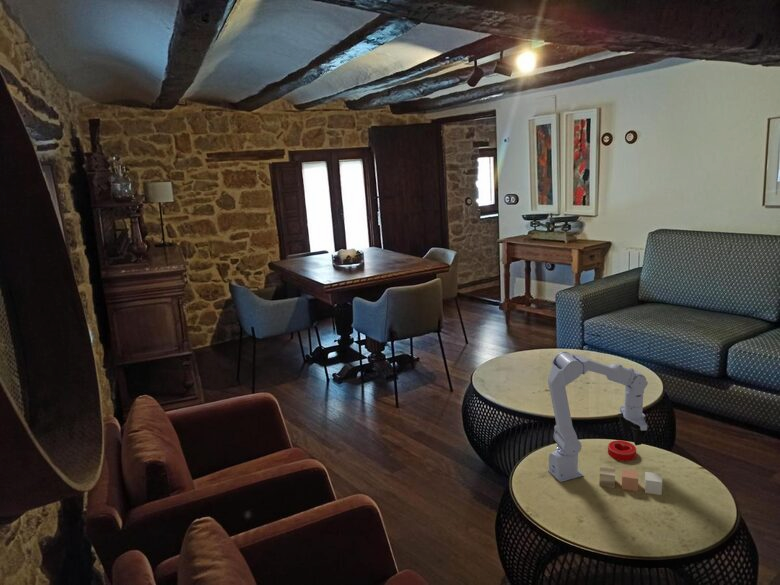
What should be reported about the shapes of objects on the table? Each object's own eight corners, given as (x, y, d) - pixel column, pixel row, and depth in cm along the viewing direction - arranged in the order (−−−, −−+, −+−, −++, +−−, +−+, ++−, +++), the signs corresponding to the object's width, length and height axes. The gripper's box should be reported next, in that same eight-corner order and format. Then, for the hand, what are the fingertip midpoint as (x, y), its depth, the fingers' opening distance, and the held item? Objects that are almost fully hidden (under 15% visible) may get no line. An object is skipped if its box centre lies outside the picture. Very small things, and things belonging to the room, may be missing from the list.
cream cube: (661, 495, 175) (662, 482, 174) (645, 492, 177) (645, 480, 176) (660, 486, 179) (661, 474, 178) (644, 484, 181) (645, 471, 180)
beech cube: (614, 488, 180) (615, 475, 179) (599, 485, 182) (599, 473, 181) (614, 480, 185) (615, 467, 183) (599, 477, 186) (600, 465, 185)
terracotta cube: (637, 491, 178) (638, 478, 176) (621, 489, 179) (622, 476, 178) (637, 483, 182) (637, 470, 181) (621, 481, 184) (622, 468, 182)
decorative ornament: (608, 460, 197) (608, 452, 196) (607, 446, 205) (607, 438, 204) (637, 463, 193) (637, 455, 192) (634, 448, 202) (635, 441, 201)
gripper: (656, 412, 180) (654, 448, 183) (633, 393, 194) (632, 427, 197) (636, 414, 180) (634, 450, 183) (614, 395, 194) (613, 429, 197)
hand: (632, 438), depth 190 cm, fingers open, 7 cm apart
